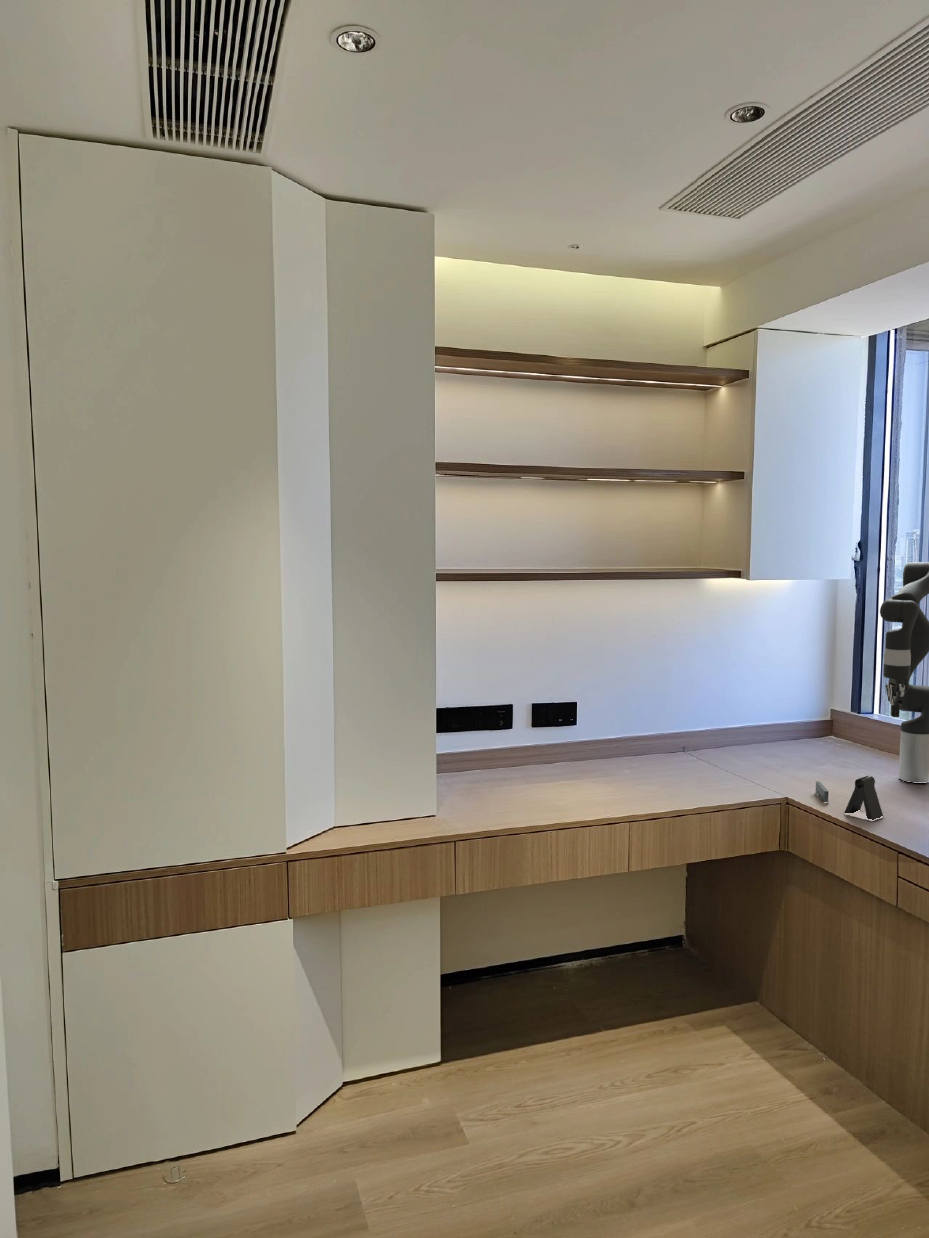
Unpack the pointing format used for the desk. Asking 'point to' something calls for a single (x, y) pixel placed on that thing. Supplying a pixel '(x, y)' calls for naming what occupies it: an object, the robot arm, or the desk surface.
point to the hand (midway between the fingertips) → (894, 716)
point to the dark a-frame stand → (865, 798)
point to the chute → (822, 791)
